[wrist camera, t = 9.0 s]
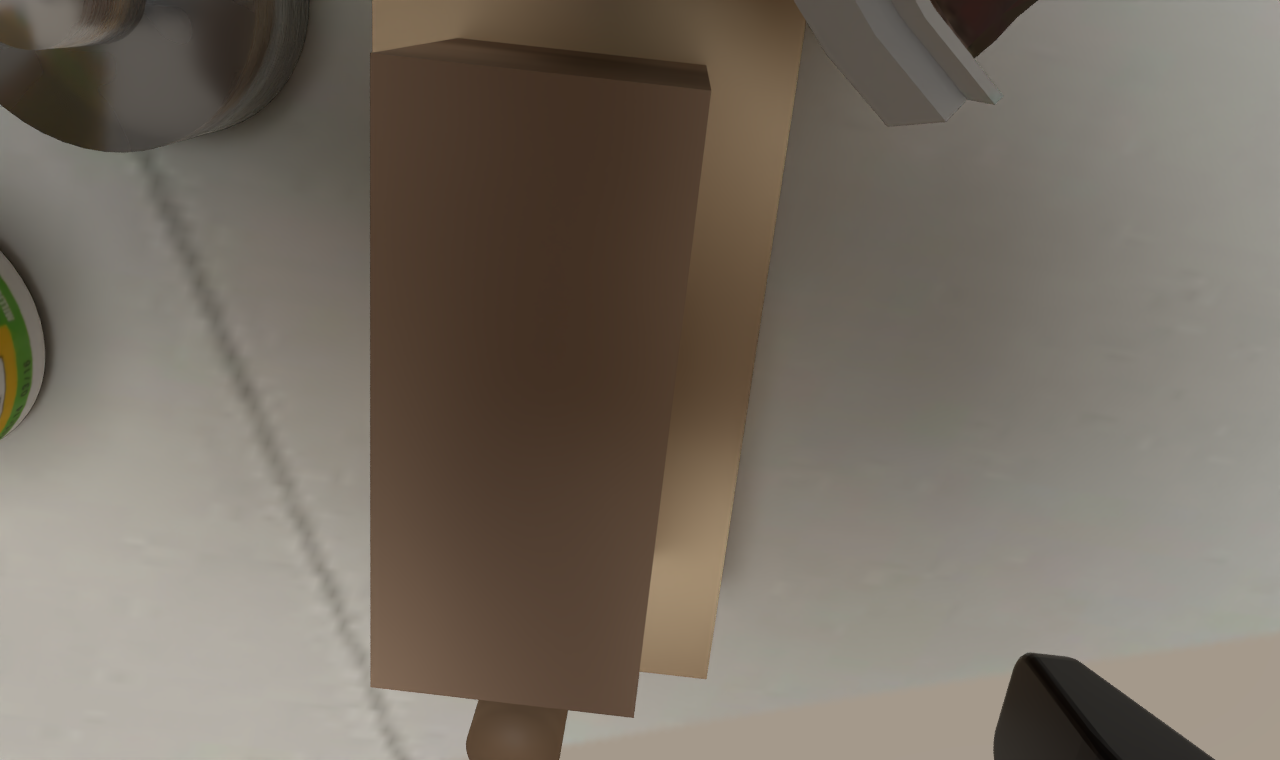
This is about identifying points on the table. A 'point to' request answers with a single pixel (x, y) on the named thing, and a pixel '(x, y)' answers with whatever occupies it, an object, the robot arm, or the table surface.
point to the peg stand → (716, 290)
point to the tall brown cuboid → (523, 362)
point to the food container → (912, 51)
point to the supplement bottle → (18, 349)
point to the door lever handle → (144, 66)
